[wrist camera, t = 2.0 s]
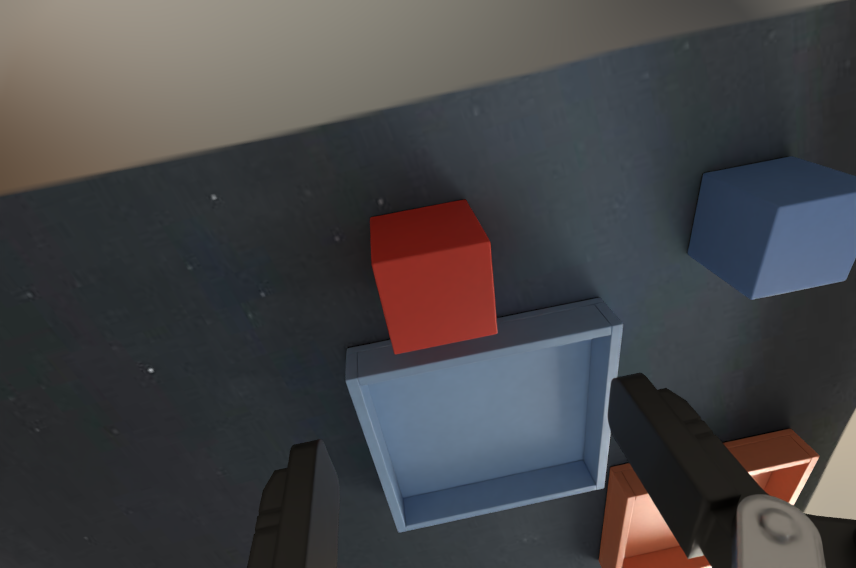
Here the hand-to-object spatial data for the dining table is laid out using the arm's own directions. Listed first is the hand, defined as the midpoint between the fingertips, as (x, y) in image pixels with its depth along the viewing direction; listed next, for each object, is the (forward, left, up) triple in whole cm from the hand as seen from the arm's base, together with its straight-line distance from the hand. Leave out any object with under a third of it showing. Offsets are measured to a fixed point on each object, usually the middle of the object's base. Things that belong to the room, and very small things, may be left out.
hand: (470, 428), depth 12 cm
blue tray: (-2, +12, -11) cm, 16 cm away
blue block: (-16, +1, -11) cm, 19 cm away
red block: (0, 0, -11) cm, 11 cm away
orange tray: (-18, +28, -11) cm, 35 cm away
